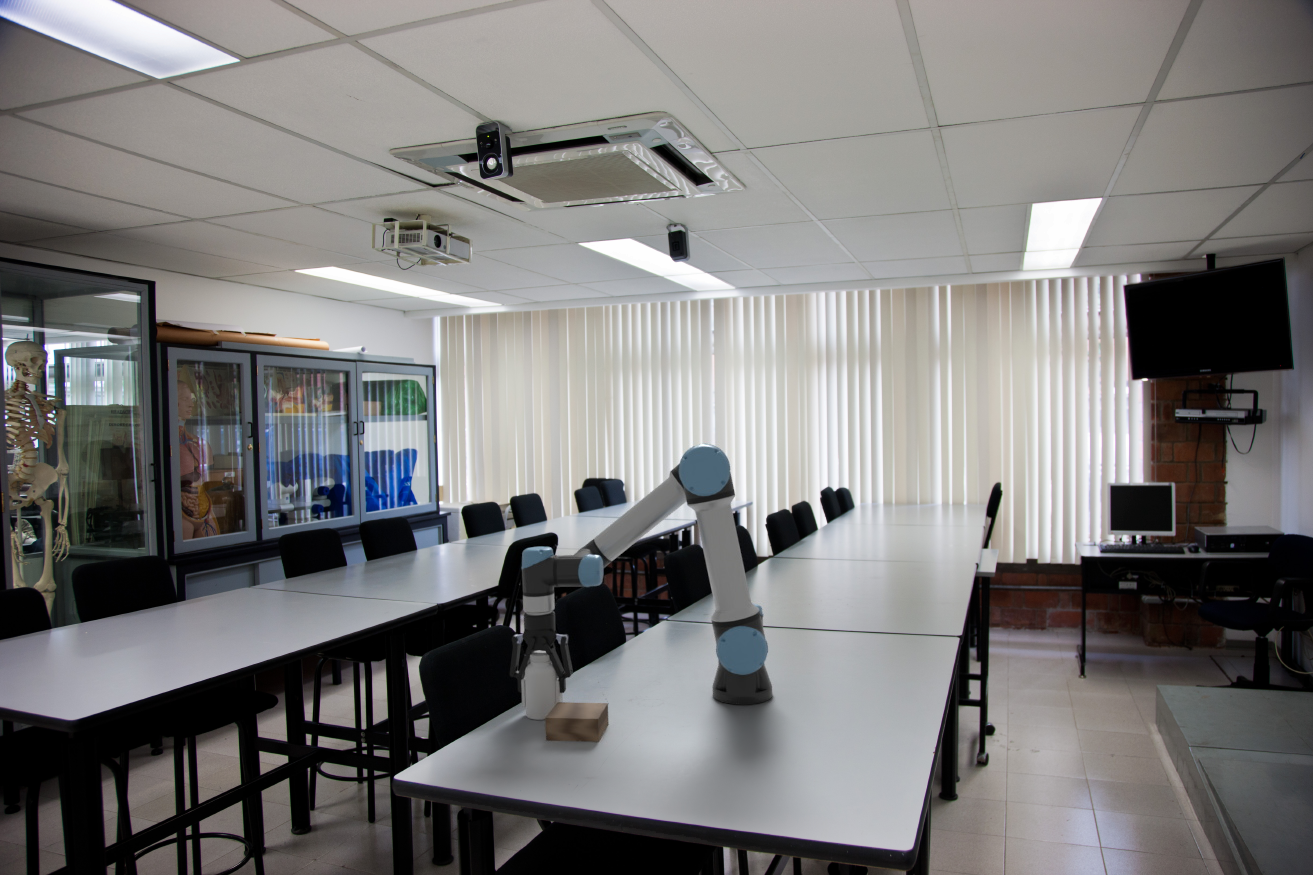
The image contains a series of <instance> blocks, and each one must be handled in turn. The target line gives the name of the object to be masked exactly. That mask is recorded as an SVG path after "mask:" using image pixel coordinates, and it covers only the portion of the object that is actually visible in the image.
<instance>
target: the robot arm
mask: <svg viewBox="0 0 1313 875" xmlns="http://www.w3.org/2000/svg"><path fill="white" fill-rule="evenodd" d="M730 465H731V464H730V461H729V458H728V456H727V455H726V453H725V452H724V451H723V450H722V449H721V448H720V447H718V446H716V445H714V444H711V443H702V444H701V443H699V444H696V445H693V446H692V447H689V448H688V449H687V450H686V451H685V452H684V453H683V455H682V456H681V459H680V461H679V463H678V464H677V465H676V466H675V467H673V469H671V470H670V471H669V473H668V474H669V475H668V478H666V479H665V480H664V481H663V482H661V483H660V484H659V485H657V487H655V488H654V489H653V490H652V491H650V492H648V494H647V495H646V496H644V497H643V498H642V499H641V500H639V501H638V502H637V503H636V504H634V505H633V506H632V507H630V508H629V510H627V511H626V512H625V513H623V514H622V515H621V516H620V517H619V518H617V519H616V520H615V521H614V522H612V523H611V524H610V525H608V526H607V527H606V528H605V529H604V530H602V531H601V532H600V533H599V534H598V535H596V536H595V537H594V538H593V539H591V540H590V541H589V542H588V543H587V544H585V545H584V546H582V547H581V548H580V549H578V551H577V552H575V553H574V554H569V555H568V554H567V555H566V554H565V555H557V554H554V549H553V548H552V547H550V546H533V547H527V548H525V549H524V550H523V551H522V553H521V554H522V556H521V577H522V605H523V606H522V607H523V611H524V613H523V633H522V634H518V633H515V634H514V635H513V636H512V637H511V643H512V652H511V658H510V659H511V660H510V668H509V677H511V678H513V677H514V678H515V679H516V681H517V692H518V693H521V707H522V708H526V698H525V669H526V667H527V666H528V665H529V664H530V663H531V662H530V654H531V653H532V652H534V651H538V650H541V651H546V653H547V655H549V658H550V660H551V663H552V665H553V667H554V669H555V672H556V674H557V676H558V679H557V680H556V704H557V703H558V702H563V694H564V693H565V692H566V689H567V685H566V680H567V679H568V678H571V677H572V675H573V674H574V670H573V664H572V660H571V659H572V658H571V655H570V649H569V645H568V644H569V634H567V633H565V634H559V633H558V632H557V630H556V612H555V611H554V610H555V606H556V604H555V588H560V587H567V588H568V587H586V588H590V587H597V586H600V585H601V584H602V583H603V579H604V569H605V568H606V567H607V566H608V565H609V564H611V563H612V562H613V561H614V560H615V559H617V558H618V557H619V556H621V554H623V553H624V552H625V551H627V550H628V549H629V548H630V547H632V545H634V544H635V543H637V542H638V541H639V540H641V538H643V537H644V536H645V535H646V534H648V533H649V532H651V530H653V529H654V528H655V527H657V526H658V525H659V524H661V523H662V522H663V521H664V520H666V518H668V517H669V516H670V515H672V514H673V513H674V512H675V511H676V510H678V509H679V508H680V507H682V506H683V505H684V504H685V503H686V505H687V506H688V507H689V508H691V509H692V510H693V511H694V512H695V517H696V521H697V526H698V530H699V537H700V541H701V545H702V550H703V555H704V560H705V565H706V570H707V574H708V580H709V584H710V589H711V593H712V598H713V603H714V608H715V610H714V612H713V613H712V615H711V617H710V620H711V625H712V630H713V635H714V639H715V640H714V641H715V644H716V648H715V653H716V654H715V655H716V658H717V660H718V661H717V662H718V665H717V670H716V673H715V676H714V680H713V683H712V686H711V687H712V697H713V698H714V699H715V700H716V701H718V702H721V703H725V704H730V705H739V706H740V705H742V706H743V705H744V706H745V705H754V704H755V705H756V704H760V703H763V702H767V701H769V700H771V698H772V697H773V684H772V681H771V679H770V676H769V674H768V671H767V668H766V664H765V662H766V661H767V657H768V653H769V646H768V645H769V643H768V641H767V639H766V635H765V629H764V619H763V618H764V613H763V607H762V606H761V605H760V604H757V603H753V602H752V600H751V594H750V590H749V585H748V580H747V577H746V576H747V575H746V572H745V566H744V561H743V557H742V556H743V555H742V553H741V552H742V551H741V548H740V542H739V537H738V533H737V528H736V522H735V518H734V515H733V514H734V513H733V510H732V505H731V504H732V502H733V500H734V498H736V492H735V488H734V483H733V478H732V472H731V466H730ZM556 640H557V642H558V644H559V646H560V653H561V658H562V659H561V660H562V662H561V660H560V657H559V655H558V652H557V651H556V647H555V645H554V642H555V641H556ZM523 641H524V642H525V643H526V644H527V647H526V651H525V654H524V656H523V660H522V662H521V664H520V668H519V663H520V654H521V649H522V648H521V647H522V643H523Z"/></svg>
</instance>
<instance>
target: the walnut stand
mask: <svg viewBox="0 0 1313 875" xmlns="http://www.w3.org/2000/svg"><path fill="white" fill-rule="evenodd" d="M544 722H545V723H544V725H545V726H544V727H545V730H544V731H545V741H546V742H547V741H548V742H549V741H550V742H552V741H553V742H556V741H557V742H584V743H585V742H592V743H594V742H595V743H599V742H600V741H601V739H602V737H603V735H604V733H605V732H606V730H607V728H608V726H609V704H608V702H566V701H565V702H563V701H562V702H558V703H557V704H556V705H555V706H554V707H553V709H552V710H551V711H550V712H549V714H548V715H547V716H546V717H545V719H544Z"/></svg>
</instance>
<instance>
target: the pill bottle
mask: <svg viewBox="0 0 1313 875" xmlns="http://www.w3.org/2000/svg"><path fill="white" fill-rule="evenodd" d="M524 677H525V698H526V707H525V715H526V717H527V719H531V720H536V721H537V720H538V721H540V720H544V721H545V717H546V716H547V715H548V714H549V712H550V711H551V710H552V709H553V707H554V706H555V705H556V680H557V679H558V676H557V674H556V672H555V669H554V667H553V665H552V663H551V660H550V658H549V655H547V653H546V651H541V650H538V651H534V652H532V653H531V654H530V662H529V665H528V666H527V667H526V669H525V676H524Z"/></svg>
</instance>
